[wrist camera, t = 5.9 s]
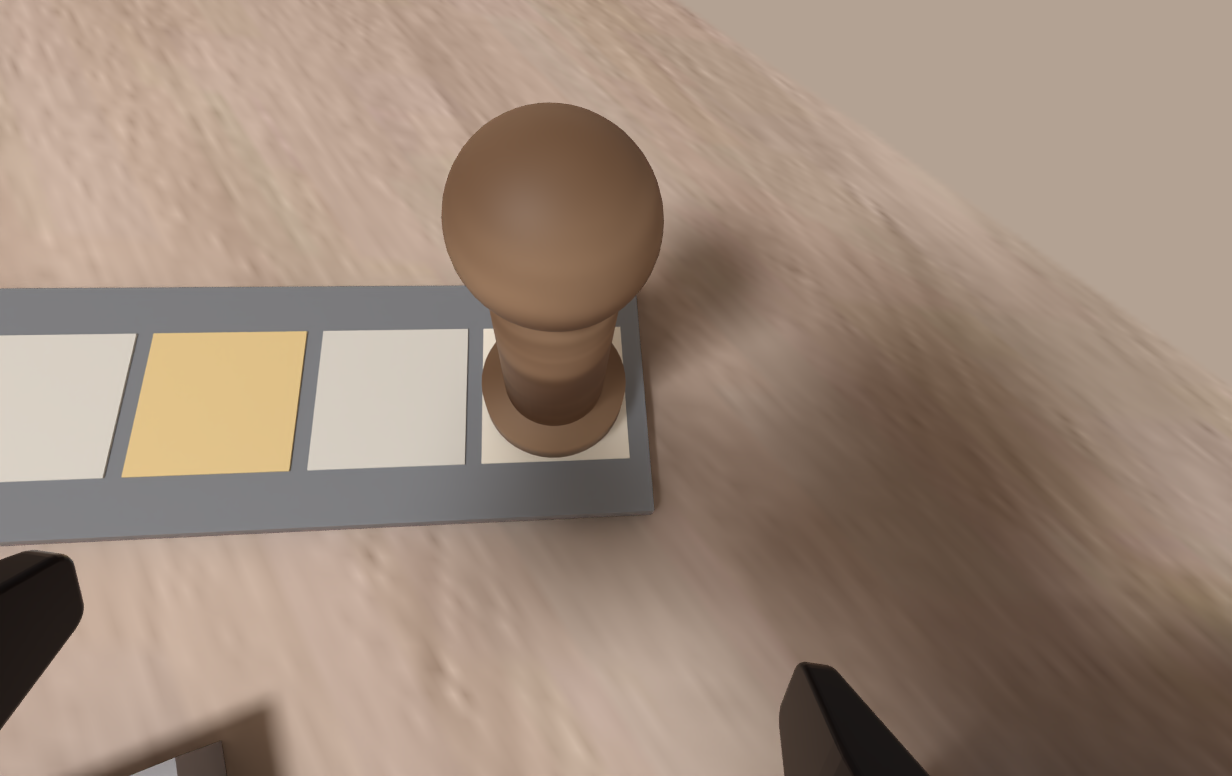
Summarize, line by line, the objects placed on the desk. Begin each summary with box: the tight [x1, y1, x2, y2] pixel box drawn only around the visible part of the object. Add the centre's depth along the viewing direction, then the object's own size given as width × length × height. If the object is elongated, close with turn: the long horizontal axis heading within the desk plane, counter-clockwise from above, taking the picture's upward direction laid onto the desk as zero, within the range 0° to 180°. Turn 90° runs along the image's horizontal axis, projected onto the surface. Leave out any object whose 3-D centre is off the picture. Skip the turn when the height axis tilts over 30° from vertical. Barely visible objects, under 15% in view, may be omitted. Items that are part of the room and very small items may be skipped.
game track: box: [0, 286, 654, 546], centre depth 22 cm, size 24×9×1 cm, turn 94°
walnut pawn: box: [442, 103, 664, 458], centre depth 17 cm, size 5×5×12 cm
